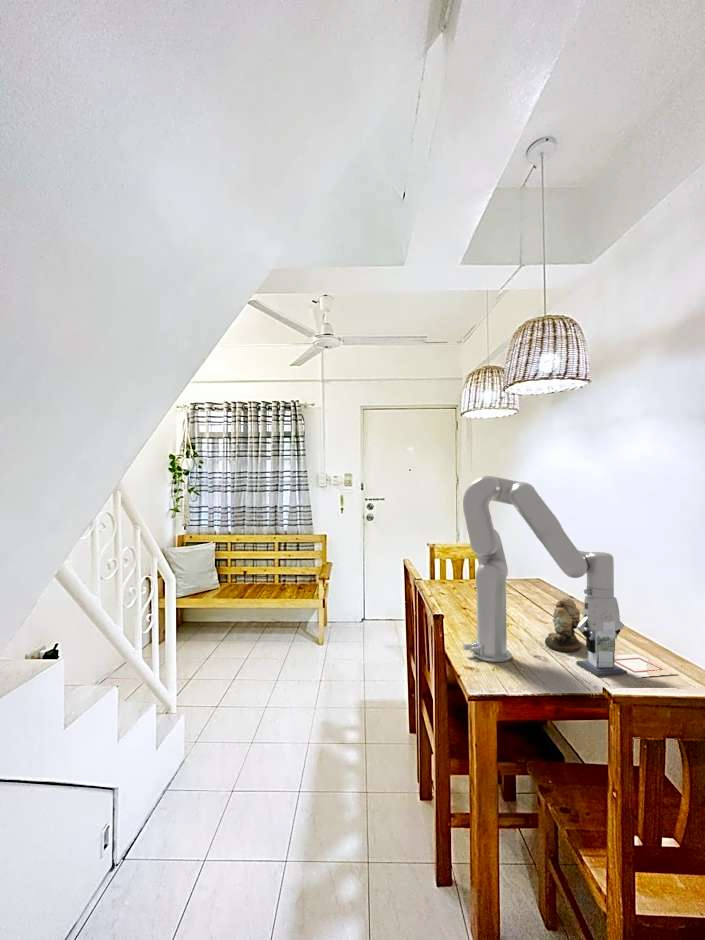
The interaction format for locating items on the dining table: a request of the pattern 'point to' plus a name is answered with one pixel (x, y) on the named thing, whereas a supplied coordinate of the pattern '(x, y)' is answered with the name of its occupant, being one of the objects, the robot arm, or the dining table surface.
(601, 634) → the syrup box
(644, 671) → the marked sheet
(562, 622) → the tan lumpy figure
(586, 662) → the ink pad
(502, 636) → the robot arm
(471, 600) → the dining table surface
